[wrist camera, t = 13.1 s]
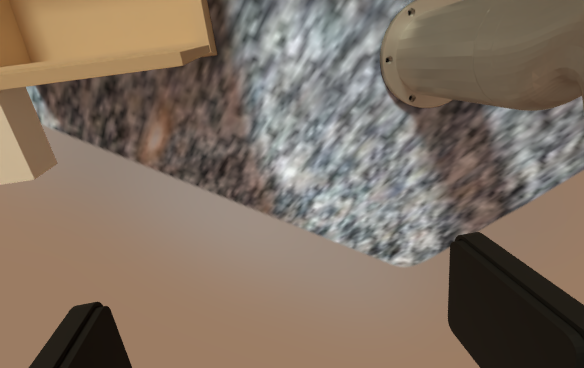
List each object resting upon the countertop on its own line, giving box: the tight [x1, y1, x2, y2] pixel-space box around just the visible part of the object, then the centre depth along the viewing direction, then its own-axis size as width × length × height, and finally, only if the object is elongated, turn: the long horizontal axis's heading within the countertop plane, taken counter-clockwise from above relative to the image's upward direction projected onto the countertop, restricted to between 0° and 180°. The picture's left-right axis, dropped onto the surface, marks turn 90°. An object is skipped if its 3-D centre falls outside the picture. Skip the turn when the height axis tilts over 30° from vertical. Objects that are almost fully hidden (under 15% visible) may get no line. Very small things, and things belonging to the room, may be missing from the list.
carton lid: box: [0, 45, 210, 185], centre depth 23 cm, size 20×16×5 cm
